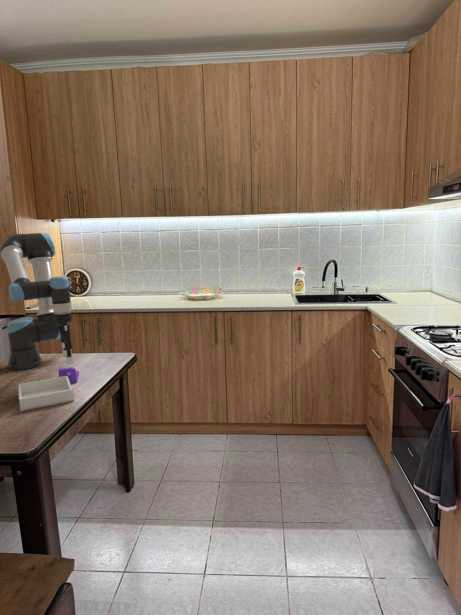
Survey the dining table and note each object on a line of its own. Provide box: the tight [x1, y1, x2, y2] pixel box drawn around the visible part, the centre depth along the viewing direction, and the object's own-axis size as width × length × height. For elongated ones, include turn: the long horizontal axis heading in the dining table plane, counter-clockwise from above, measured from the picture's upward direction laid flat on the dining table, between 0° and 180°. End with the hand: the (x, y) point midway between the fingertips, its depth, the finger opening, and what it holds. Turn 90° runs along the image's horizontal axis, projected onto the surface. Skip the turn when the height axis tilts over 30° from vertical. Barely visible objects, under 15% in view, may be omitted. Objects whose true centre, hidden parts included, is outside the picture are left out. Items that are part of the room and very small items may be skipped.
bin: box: [17, 376, 75, 412], centre depth 174 cm, size 19×19×5 cm
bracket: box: [57, 366, 80, 384], centre depth 195 cm, size 12×7×7 cm, turn 14°
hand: (68, 360), depth 194 cm, fingers open, 13 cm apart
